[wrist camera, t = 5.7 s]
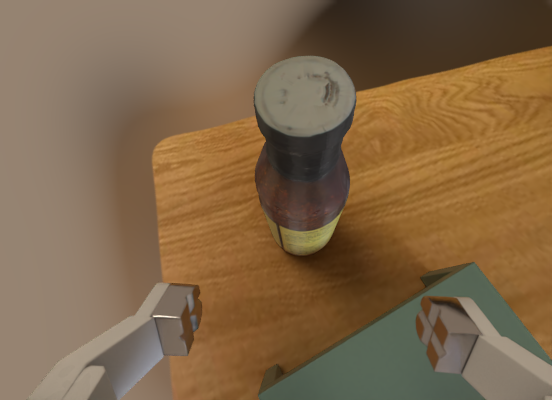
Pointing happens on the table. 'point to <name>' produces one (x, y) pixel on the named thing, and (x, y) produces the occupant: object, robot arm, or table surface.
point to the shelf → (398, 351)
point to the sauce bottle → (303, 150)
